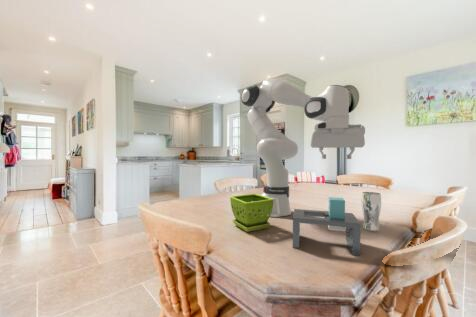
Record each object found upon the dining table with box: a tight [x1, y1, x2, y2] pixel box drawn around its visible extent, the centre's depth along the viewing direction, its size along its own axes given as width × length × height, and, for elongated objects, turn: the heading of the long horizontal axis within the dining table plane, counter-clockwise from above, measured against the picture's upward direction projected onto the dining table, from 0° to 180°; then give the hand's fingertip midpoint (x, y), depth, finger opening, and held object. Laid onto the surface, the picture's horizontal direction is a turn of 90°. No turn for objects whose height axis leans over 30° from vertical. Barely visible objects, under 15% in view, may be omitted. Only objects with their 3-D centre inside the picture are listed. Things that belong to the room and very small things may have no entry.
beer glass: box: [361, 191, 382, 233], centre depth 91 cm, size 7×7×15 cm
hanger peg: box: [327, 196, 346, 232], centre depth 74 cm, size 5×5×10 cm
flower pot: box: [229, 193, 273, 233], centre depth 93 cm, size 14×14×13 cm
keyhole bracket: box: [292, 208, 361, 257], centre depth 76 cm, size 20×12×10 cm, turn 73°
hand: (336, 158), depth 91 cm, fingers open, 8 cm apart
